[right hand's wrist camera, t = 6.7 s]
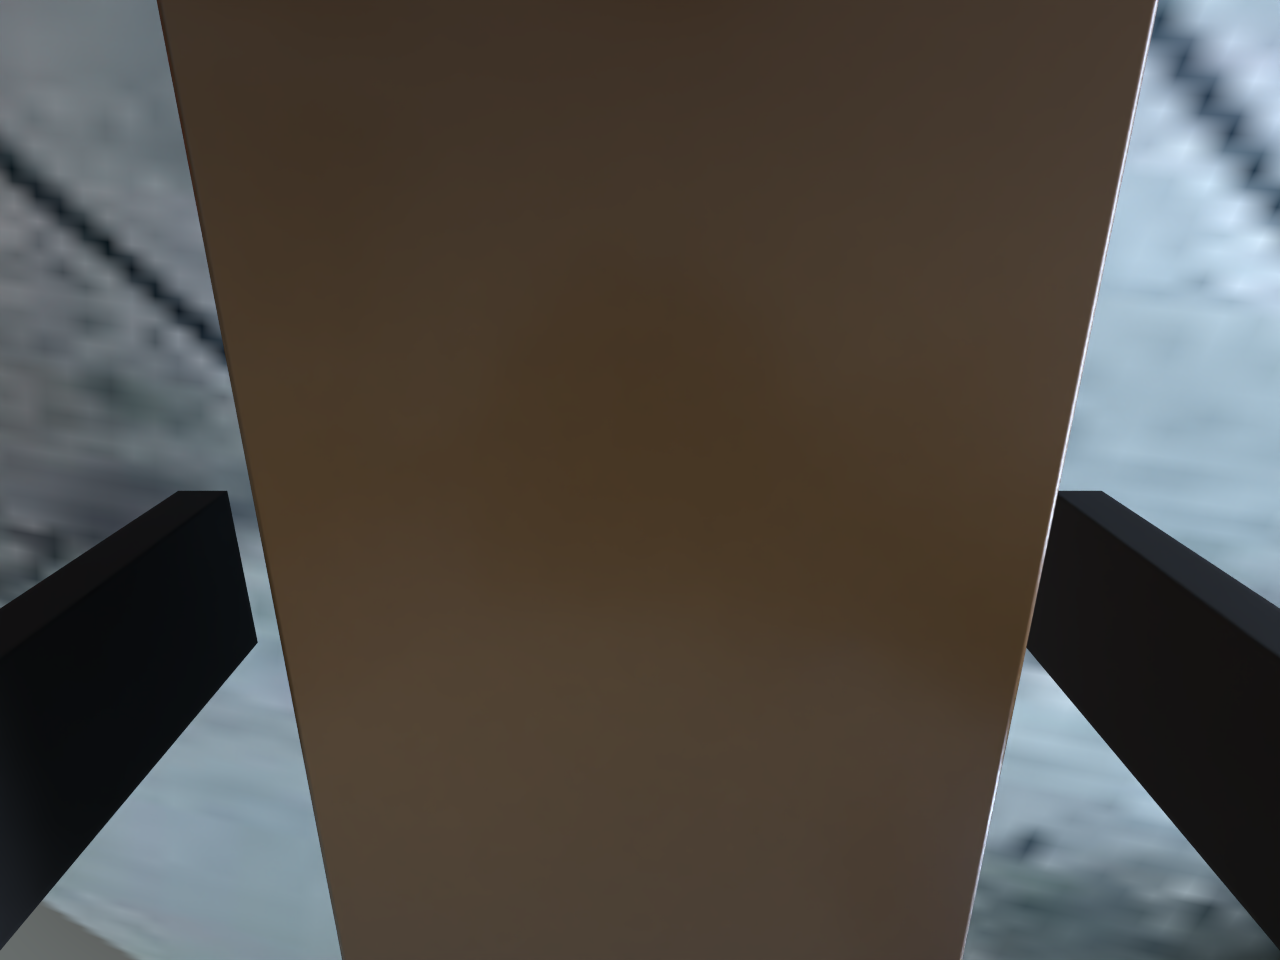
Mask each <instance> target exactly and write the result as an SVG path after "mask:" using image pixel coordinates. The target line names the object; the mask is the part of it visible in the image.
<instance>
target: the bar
mask: <svg viewBox="0 0 1280 960" xmlns="http://www.w3.org/2000/svg"><path fill="white" fill-rule="evenodd" d="M1158 1H1159V0H157V4H158V9H159V15H160V20H161V25H162V30H163V35H164V40H165V46H166V51H167V56H168V61H169V66H170V71H171V77H172V82H173V87H174V92H175V97H176V102H177V108H178V113H179V118H180V123H181V128H182V133H183V139H184V144H185V149H186V154H187V159H188V164H189V170H190V175H191V180H192V185H193V190H194V195H195V201H196V206H197V211H198V216H199V221H200V226H201V232H202V237H203V242H204V247H205V252H206V257H207V263H208V268H209V273H210V278H211V283H212V289H213V294H214V299H215V304H216V309H217V314H218V320H219V325H220V330H221V335H222V340H223V345H224V351H225V356H226V361H227V366H228V371H229V376H230V382H231V387H232V392H233V397H234V402H235V407H236V413H237V418H238V423H239V428H240V433H241V438H242V444H243V449H244V454H245V459H246V464H247V469H248V475H249V480H250V485H251V490H252V495H253V500H254V506H255V511H256V516H257V521H258V526H259V531H260V537H261V542H262V547H263V552H264V557H265V563H266V568H267V573H268V578H269V583H270V588H271V594H272V599H273V604H274V609H275V614H276V619H277V625H278V630H279V635H280V640H281V645H282V650H283V656H284V661H285V666H286V671H287V676H288V681H289V687H290V692H291V697H292V702H293V707H294V712H295V718H296V723H297V728H298V733H299V738H300V743H301V749H302V754H303V759H304V764H305V769H306V774H307V780H308V785H309V790H310V795H311V800H312V805H313V811H314V816H315V821H316V826H317V831H318V836H319V842H320V847H321V852H322V857H323V862H324V868H325V873H326V878H327V883H328V888H329V893H330V899H331V904H332V909H333V914H334V919H335V924H336V930H337V935H338V940H339V945H340V950H341V955H342V960H962V959H963V954H964V949H965V944H966V939H967V934H968V929H969V925H970V920H971V915H972V910H973V905H974V900H975V895H976V890H977V885H978V881H979V876H980V871H981V866H982V861H983V856H984V851H985V846H986V842H987V837H988V832H989V827H990V822H991V817H992V812H993V807H994V802H995V798H996V793H997V788H998V783H999V778H1000V773H1001V768H1002V763H1003V758H1004V754H1005V749H1006V744H1007V739H1008V734H1009V729H1010V724H1011V719H1012V714H1013V710H1014V705H1015V700H1016V695H1017V690H1018V685H1019V680H1020V675H1021V670H1022V666H1023V661H1024V656H1025V651H1026V646H1027V641H1028V636H1029V631H1030V626H1031V622H1032V617H1033V612H1034V607H1035V602H1036V597H1037V592H1038V587H1039V582H1040V578H1041V573H1042V568H1043V563H1044V558H1045V553H1046V548H1047V543H1048V539H1049V534H1050V529H1051V524H1052V519H1053V514H1054V509H1055V504H1056V499H1057V495H1058V490H1059V485H1060V480H1061V475H1062V470H1063V465H1064V460H1065V455H1066V451H1067V446H1068V441H1069V436H1070V431H1071V426H1072V421H1073V416H1074V411H1075V407H1076V402H1077V397H1078V392H1079V387H1080V382H1081V377H1082V372H1083V367H1084V363H1085V358H1086V353H1087V348H1088V343H1089V338H1090V333H1091V328H1092V323H1093V319H1094V314H1095V309H1096V304H1097V299H1098V294H1099V289H1100V284H1101V280H1102V275H1103V270H1104V265H1105V260H1106V255H1107V250H1108V245H1109V240H1110V236H1111V231H1112V226H1113V221H1114V216H1115V211H1116V206H1117V201H1118V196H1119V192H1120V187H1121V182H1122V177H1123V172H1124V167H1125V162H1126V157H1127V152H1128V148H1129V143H1130V138H1131V133H1132V128H1133V123H1134V118H1135V113H1136V108H1137V104H1138V99H1139V94H1140V89H1141V84H1142V79H1143V74H1144V69H1145V64H1146V60H1147V55H1148V50H1149V45H1150V40H1151V35H1152V30H1153V25H1154V20H1155V16H1156V11H1157V6H1158Z"/></svg>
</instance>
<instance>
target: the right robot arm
mask: <svg viewBox="0 0 1280 960" xmlns="http://www.w3.org/2000/svg"><path fill="white" fill-rule="evenodd" d="M257 643H258V642H257V637H256V632H255V627H254V622H253V617H252V612H251V607H250V602H249V597H248V592H247V587H246V582H245V577H244V572H243V567H242V562H241V557H240V552H239V547H238V542H237V537H236V532H235V527H234V522H233V517H232V512H231V507H230V503H229V498H228V493H227V491H177V492H176V493H174V494H173V495H171V496H170V497H168V498H167V499H165V500H164V501H162V502H161V503H159V504H158V505H156V506H155V507H153V508H152V509H150V510H149V511H147V512H146V513H144V514H143V515H141V516H140V517H138V518H137V519H135V520H134V521H132V522H130V523H129V524H127V525H126V526H124V527H123V528H121V529H120V530H118V531H117V532H115V533H114V534H112V535H111V536H109V537H108V538H106V539H105V540H103V541H102V542H100V543H99V544H97V545H96V546H94V547H93V548H91V549H90V550H88V551H87V552H85V553H84V554H82V555H81V556H79V557H78V558H76V559H75V560H73V561H71V562H70V563H68V564H67V565H65V566H64V567H62V568H61V569H59V570H58V571H56V572H55V573H53V574H52V575H50V576H49V577H47V578H46V579H44V580H43V581H41V582H40V583H38V584H37V585H35V586H34V587H32V588H31V589H29V590H28V591H26V592H25V593H23V594H22V595H20V596H19V597H17V598H16V599H14V600H13V601H11V602H9V603H8V604H6V605H5V606H3V607H2V608H0V950H1V949H2V948H3V946H4V945H5V944H6V943H7V942H8V940H9V939H10V938H11V937H12V936H13V934H14V933H15V932H16V931H17V930H18V928H19V927H20V926H21V925H22V924H23V922H24V921H25V920H26V919H27V918H28V916H29V915H30V914H31V913H32V912H33V911H34V909H35V908H36V907H37V906H38V905H39V903H40V902H41V901H42V900H43V899H44V897H45V896H46V895H47V894H48V893H49V891H50V890H51V889H52V888H53V887H54V885H55V884H56V883H57V882H58V881H59V879H60V878H61V877H62V876H63V875H64V873H65V872H66V871H67V870H68V869H69V868H70V866H71V865H72V864H73V863H74V862H75V860H76V859H77V858H78V857H79V856H80V854H81V853H82V852H83V851H84V850H85V848H86V847H87V846H88V845H89V844H90V842H91V841H92V840H93V839H94V838H95V836H96V835H97V834H98V833H99V832H100V830H101V829H102V828H103V827H104V826H105V824H106V823H107V822H108V821H109V820H110V819H111V817H112V816H113V815H114V814H115V813H116V811H117V810H118V809H119V808H120V807H121V805H122V804H123V803H124V802H125V801H126V799H127V798H128V797H129V796H130V795H131V793H132V792H133V791H134V790H135V789H136V787H137V786H138V785H139V784H140V783H141V781H142V780H143V779H144V778H145V777H146V775H147V774H148V773H149V772H150V771H151V770H152V768H153V767H154V766H155V765H156V764H157V762H158V761H159V760H160V759H161V758H162V756H163V755H164V754H165V753H166V752H167V750H168V749H169V748H170V747H171V746H172V744H173V743H174V742H175V741H176V740H177V738H178V737H179V736H180V735H181V734H182V732H183V731H184V730H185V729H186V728H187V726H188V725H189V724H190V723H191V722H192V721H193V719H194V718H195V717H196V716H197V715H198V713H199V712H200V711H201V710H202V709H203V707H204V706H205V705H206V704H207V703H208V701H209V700H210V699H211V698H212V697H213V695H214V694H215V693H216V692H217V691H218V689H219V688H220V687H221V686H222V685H223V683H224V682H225V681H226V680H227V679H228V677H229V676H230V675H231V674H232V673H233V672H234V670H235V669H236V668H237V667H238V666H239V664H240V663H241V662H242V661H243V660H244V658H245V657H246V656H247V655H248V654H249V652H250V651H251V650H252V649H253V648H254V646H255V645H256V644H257ZM1026 648H1027V649H1028V650H1029V651H1030V652H1031V654H1032V655H1033V656H1034V657H1035V658H1036V660H1037V661H1038V662H1039V663H1040V664H1041V666H1042V667H1043V668H1044V669H1045V670H1046V672H1047V673H1048V674H1049V675H1050V676H1051V678H1052V679H1053V680H1054V681H1055V682H1056V683H1057V685H1058V686H1059V687H1060V688H1061V689H1062V691H1063V692H1064V693H1065V694H1066V695H1067V697H1068V698H1069V699H1070V700H1071V701H1072V703H1073V704H1074V705H1075V706H1076V707H1077V709H1078V710H1079V711H1080V712H1081V713H1082V715H1083V716H1084V717H1085V718H1086V719H1087V721H1088V722H1089V723H1090V724H1091V725H1092V727H1093V728H1094V729H1095V730H1096V731H1097V733H1098V734H1099V735H1100V736H1101V737H1102V738H1103V740H1104V741H1105V742H1106V743H1107V744H1108V746H1109V747H1110V748H1111V749H1112V750H1113V752H1114V753H1115V754H1116V755H1117V756H1118V758H1119V759H1120V760H1121V761H1122V762H1123V764H1124V765H1125V766H1126V767H1127V768H1128V770H1129V771H1130V772H1131V773H1132V774H1133V776H1134V777H1135V778H1136V779H1137V780H1138V782H1139V783H1140V784H1141V785H1142V786H1143V787H1144V789H1145V790H1146V791H1147V792H1148V793H1149V795H1150V796H1151V797H1152V798H1153V799H1154V801H1155V802H1156V803H1157V804H1158V805H1159V807H1160V808H1161V809H1162V810H1163V811H1164V813H1165V814H1166V815H1167V816H1168V817H1169V819H1170V820H1171V821H1172V822H1173V823H1174V825H1175V826H1176V827H1177V828H1178V829H1179V831H1180V832H1181V833H1182V834H1183V835H1184V836H1185V838H1186V839H1187V840H1188V841H1189V842H1190V844H1191V845H1192V846H1193V847H1194V848H1195V850H1196V851H1197V852H1198V853H1199V854H1200V856H1201V857H1202V858H1203V859H1204V860H1205V862H1206V863H1207V864H1208V865H1209V866H1210V868H1211V869H1212V870H1213V871H1214V872H1215V874H1216V875H1217V876H1218V877H1219V878H1220V880H1221V881H1222V882H1223V883H1224V884H1225V885H1226V887H1227V888H1228V889H1229V890H1230V891H1231V893H1232V894H1233V895H1234V896H1235V897H1236V899H1237V900H1238V901H1239V902H1240V903H1241V905H1242V906H1243V907H1244V908H1245V909H1246V911H1247V912H1248V913H1249V914H1250V915H1251V917H1252V918H1253V919H1254V920H1255V921H1256V923H1257V924H1258V925H1259V926H1260V927H1261V929H1262V930H1263V931H1264V932H1265V933H1266V934H1267V936H1268V937H1269V938H1270V939H1271V940H1272V942H1273V943H1274V944H1275V945H1276V946H1277V948H1278V949H1279V950H1280V608H1278V607H1277V606H1275V605H1274V604H1272V603H1270V602H1269V601H1267V600H1266V599H1264V598H1263V597H1261V596H1260V595H1258V594H1257V593H1255V592H1254V591H1252V590H1251V589H1249V588H1248V587H1246V586H1245V585H1243V584H1242V583H1240V582H1239V581H1237V580H1236V579H1234V578H1233V577H1231V576H1230V575H1228V574H1227V573H1225V572H1224V571H1222V570H1221V569H1219V568H1218V567H1216V566H1215V565H1213V564H1211V563H1210V562H1208V561H1207V560H1205V559H1204V558H1202V557H1201V556H1199V555H1198V554H1196V553H1195V552H1193V551H1192V550H1190V549H1189V548H1187V547H1186V546H1184V545H1183V544H1181V543H1180V542H1178V541H1177V540H1175V539H1174V538H1172V537H1171V536H1169V535H1168V534H1166V533H1165V532H1163V531H1162V530H1160V529H1159V528H1157V527H1156V526H1154V525H1152V524H1151V523H1149V522H1148V521H1146V520H1145V519H1143V518H1142V517H1140V516H1139V515H1137V514H1136V513H1134V512H1133V511H1131V510H1130V509H1128V508H1127V507H1125V506H1124V505H1122V504H1121V503H1119V502H1118V501H1116V500H1115V499H1113V498H1112V497H1110V496H1109V495H1107V494H1106V493H1104V492H1103V491H1058V495H1057V499H1056V504H1055V509H1054V514H1053V519H1052V524H1051V529H1050V534H1049V539H1048V543H1047V548H1046V553H1045V558H1044V563H1043V568H1042V573H1041V578H1040V582H1039V587H1038V592H1037V597H1036V602H1035V607H1034V612H1033V617H1032V622H1031V626H1030V631H1029V636H1028V641H1027V646H1026Z"/></svg>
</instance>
